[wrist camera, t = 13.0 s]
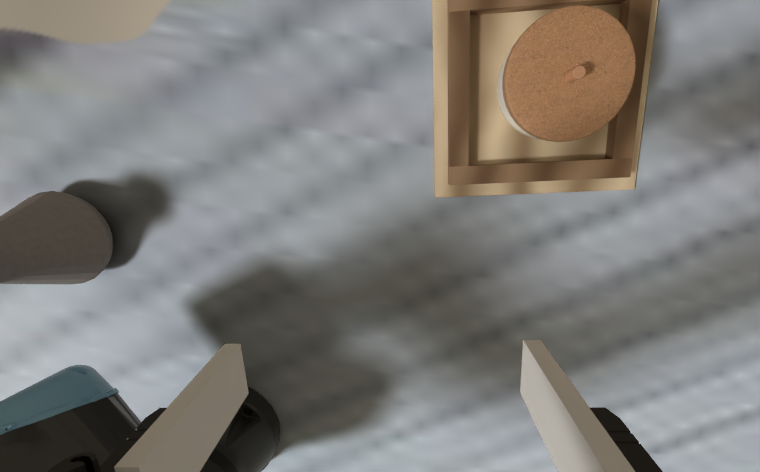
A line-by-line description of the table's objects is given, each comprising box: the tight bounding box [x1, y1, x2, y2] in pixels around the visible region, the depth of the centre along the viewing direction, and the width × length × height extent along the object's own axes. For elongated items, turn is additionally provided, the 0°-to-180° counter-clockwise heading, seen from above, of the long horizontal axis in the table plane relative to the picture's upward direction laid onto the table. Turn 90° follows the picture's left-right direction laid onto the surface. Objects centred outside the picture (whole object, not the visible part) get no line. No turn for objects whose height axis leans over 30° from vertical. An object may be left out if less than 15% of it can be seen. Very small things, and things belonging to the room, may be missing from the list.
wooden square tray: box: [432, 0, 658, 197], centre depth 36 cm, size 22×22×2 cm
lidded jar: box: [497, 5, 636, 142], centre depth 32 cm, size 11×11×9 cm
